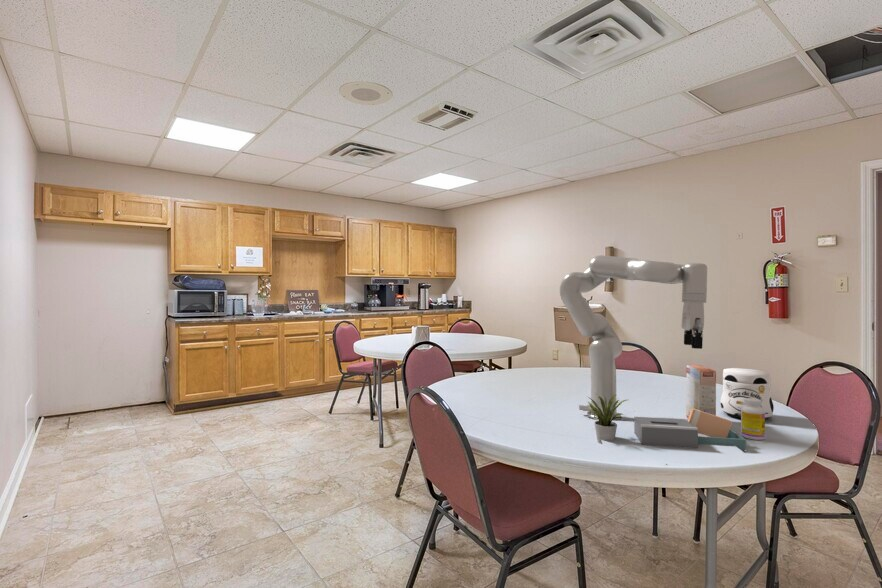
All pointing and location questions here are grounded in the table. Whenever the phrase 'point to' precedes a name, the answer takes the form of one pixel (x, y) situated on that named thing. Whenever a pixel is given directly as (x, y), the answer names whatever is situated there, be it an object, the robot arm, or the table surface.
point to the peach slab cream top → (709, 424)
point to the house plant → (605, 419)
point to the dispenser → (666, 432)
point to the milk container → (745, 390)
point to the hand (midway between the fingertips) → (692, 346)
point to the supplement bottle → (752, 419)
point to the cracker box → (701, 389)
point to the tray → (725, 440)
